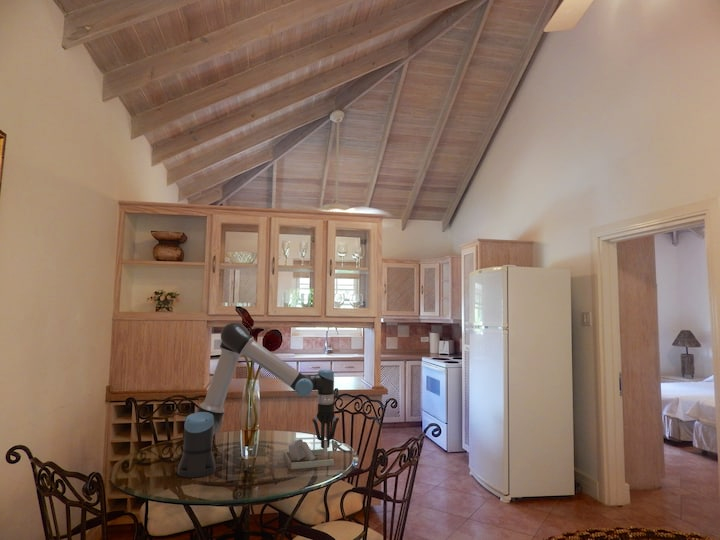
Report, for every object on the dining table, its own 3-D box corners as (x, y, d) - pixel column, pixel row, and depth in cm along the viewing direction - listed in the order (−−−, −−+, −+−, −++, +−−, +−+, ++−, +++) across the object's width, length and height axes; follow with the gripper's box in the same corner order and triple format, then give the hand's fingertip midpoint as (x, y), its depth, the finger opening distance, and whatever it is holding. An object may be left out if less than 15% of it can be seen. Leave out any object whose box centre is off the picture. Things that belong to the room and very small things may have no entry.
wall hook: (311, 463, 196) (307, 440, 198) (291, 466, 199) (287, 443, 201) (319, 458, 204) (315, 436, 206) (299, 461, 207) (296, 439, 209)
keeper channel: (289, 469, 189) (289, 462, 190) (283, 457, 206) (283, 450, 206) (333, 465, 195) (334, 458, 196) (324, 454, 212) (324, 447, 212)
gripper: (313, 405, 202) (313, 458, 199) (341, 403, 206) (340, 456, 203) (310, 402, 209) (309, 453, 206) (337, 401, 213) (336, 451, 210)
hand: (325, 454), depth 204 cm, fingers closed
